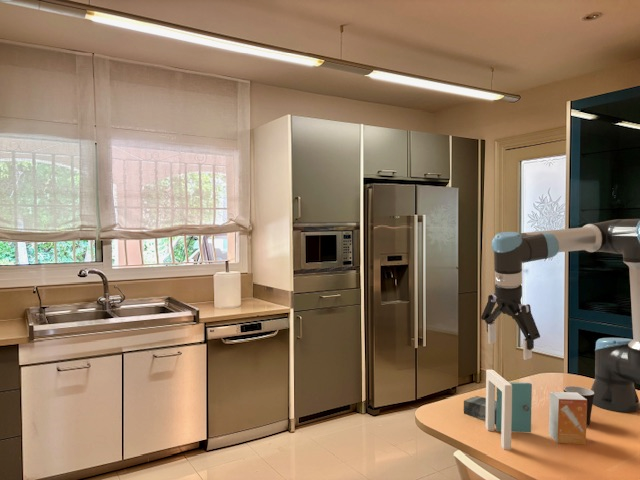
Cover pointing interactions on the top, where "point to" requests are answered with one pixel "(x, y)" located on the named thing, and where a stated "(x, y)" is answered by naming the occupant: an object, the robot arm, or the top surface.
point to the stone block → (477, 407)
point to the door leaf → (517, 407)
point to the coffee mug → (586, 394)
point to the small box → (568, 417)
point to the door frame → (506, 388)
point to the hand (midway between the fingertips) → (509, 350)
